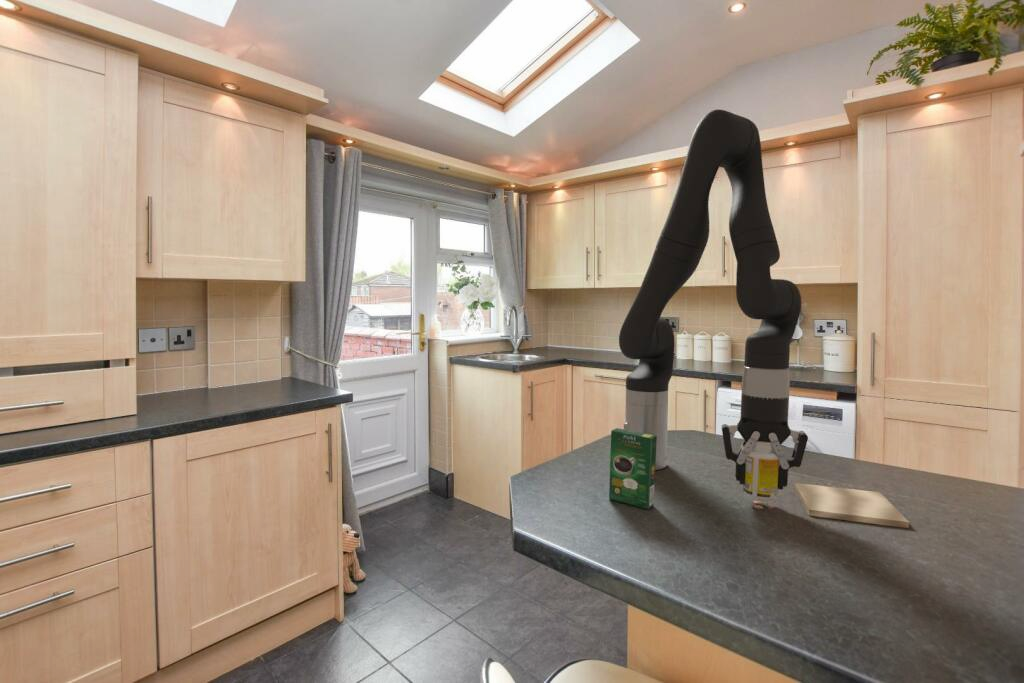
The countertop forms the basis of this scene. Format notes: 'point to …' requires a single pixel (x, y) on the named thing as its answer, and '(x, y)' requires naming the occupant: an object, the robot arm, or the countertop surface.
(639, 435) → the coffee box
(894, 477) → the countertop surface
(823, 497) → the oak board
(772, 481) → the supplement bottle
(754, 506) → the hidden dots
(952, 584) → the countertop surface
